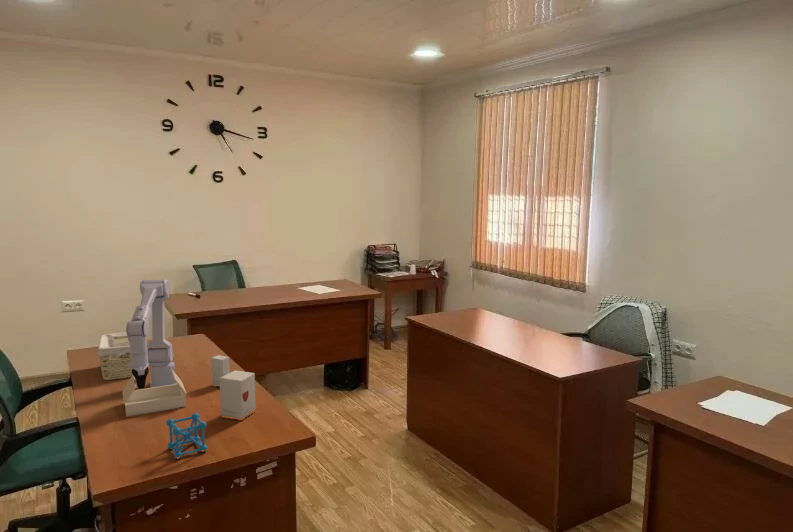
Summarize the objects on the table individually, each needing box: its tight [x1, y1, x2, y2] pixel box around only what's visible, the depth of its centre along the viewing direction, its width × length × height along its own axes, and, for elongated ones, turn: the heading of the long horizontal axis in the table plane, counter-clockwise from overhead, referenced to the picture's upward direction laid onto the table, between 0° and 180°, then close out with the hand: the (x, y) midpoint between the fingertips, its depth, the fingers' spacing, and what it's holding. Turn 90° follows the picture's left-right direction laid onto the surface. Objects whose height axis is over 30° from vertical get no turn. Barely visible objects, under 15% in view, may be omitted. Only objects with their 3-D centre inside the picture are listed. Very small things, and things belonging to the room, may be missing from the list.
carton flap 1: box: [122, 376, 137, 405], centre depth 205 cm, size 7×14×1 cm
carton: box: [124, 383, 187, 418], centre depth 209 cm, size 20×14×4 cm
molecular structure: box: [166, 412, 208, 458], centre depth 174 cm, size 10×10×10 cm
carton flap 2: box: [171, 368, 188, 395], centre depth 212 cm, size 7×14×1 cm
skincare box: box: [210, 354, 231, 387], centre depth 229 cm, size 6×4×12 cm
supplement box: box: [219, 370, 256, 418], centre depth 200 cm, size 9×9×15 cm
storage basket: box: [97, 331, 133, 381], centre depth 246 cm, size 24×16×15 cm
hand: (141, 388), depth 207 cm, fingers closed
